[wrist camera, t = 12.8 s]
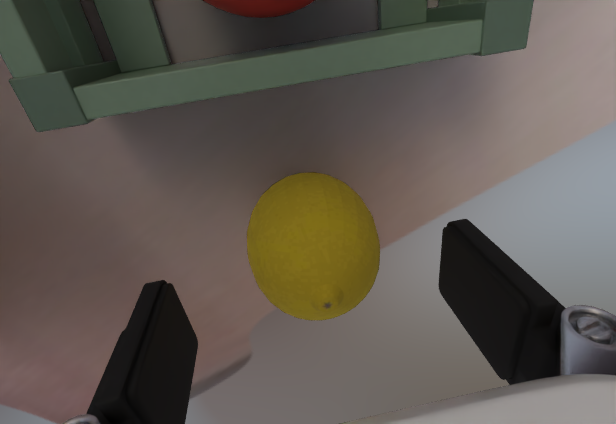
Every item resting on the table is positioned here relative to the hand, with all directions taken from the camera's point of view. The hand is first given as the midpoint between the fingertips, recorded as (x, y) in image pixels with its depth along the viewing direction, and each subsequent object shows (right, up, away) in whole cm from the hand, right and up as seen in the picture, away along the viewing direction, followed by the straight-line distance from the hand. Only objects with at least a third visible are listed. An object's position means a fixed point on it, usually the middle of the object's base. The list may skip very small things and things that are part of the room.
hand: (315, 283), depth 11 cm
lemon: (-1, +3, +7) cm, 7 cm away
